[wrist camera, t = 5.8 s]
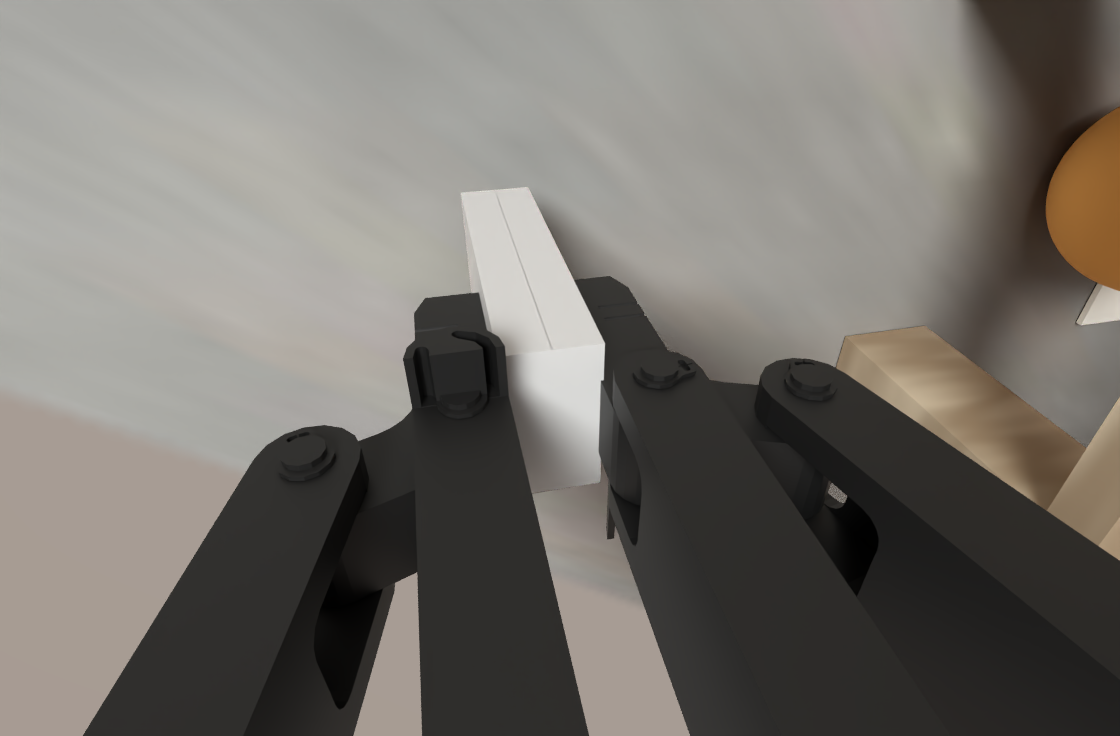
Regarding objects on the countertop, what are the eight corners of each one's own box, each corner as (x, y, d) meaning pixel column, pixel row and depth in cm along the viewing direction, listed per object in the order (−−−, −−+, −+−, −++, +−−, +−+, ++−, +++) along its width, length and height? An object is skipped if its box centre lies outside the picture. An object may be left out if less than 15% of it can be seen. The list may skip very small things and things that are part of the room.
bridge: (1104, -148, 14) (1874, -231, 7) (907, 373, 22) (1153, 590, 15) (988, -148, 14) (1682, -238, 6) (831, 384, 22) (1047, 613, 15)
